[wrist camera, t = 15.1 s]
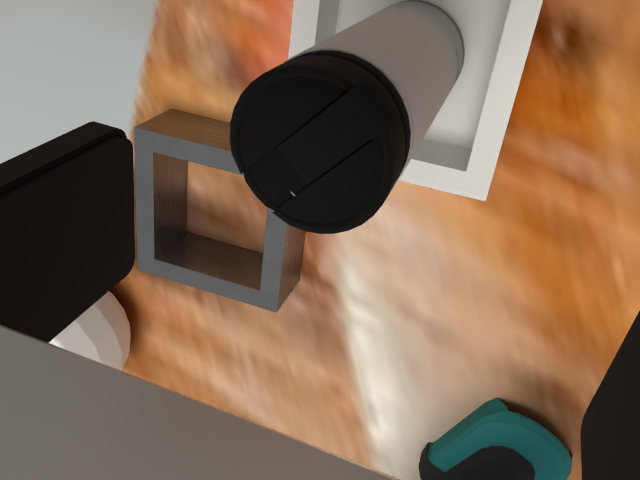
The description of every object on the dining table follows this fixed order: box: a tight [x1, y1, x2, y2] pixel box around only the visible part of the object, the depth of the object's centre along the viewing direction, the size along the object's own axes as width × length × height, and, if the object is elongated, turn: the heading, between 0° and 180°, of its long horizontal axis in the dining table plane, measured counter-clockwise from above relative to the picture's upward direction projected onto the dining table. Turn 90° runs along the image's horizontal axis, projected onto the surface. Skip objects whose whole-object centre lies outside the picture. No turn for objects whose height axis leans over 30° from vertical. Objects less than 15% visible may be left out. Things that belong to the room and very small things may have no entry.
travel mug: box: [230, 0, 465, 234], centre depth 29 cm, size 6×7×20 cm
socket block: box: [134, 109, 306, 312], centre depth 47 cm, size 12×12×5 cm
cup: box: [49, 291, 130, 371], centre depth 56 cm, size 12×12×10 cm
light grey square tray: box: [288, 0, 543, 201], centre depth 37 cm, size 13×13×6 cm
